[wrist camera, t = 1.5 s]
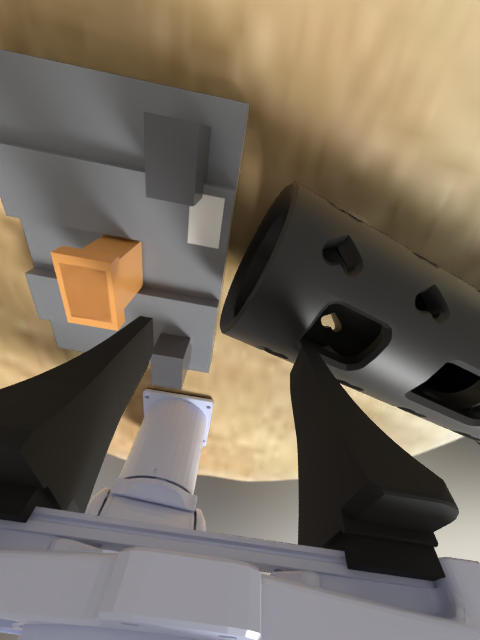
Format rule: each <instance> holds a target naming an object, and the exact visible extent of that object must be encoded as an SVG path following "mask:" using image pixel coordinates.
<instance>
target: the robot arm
mask: <svg viewBox="0 0 480 640" xmlns="http://www.w3.org/2000/svg"><path fill="white" fill-rule="evenodd" d="M153 351H154V338H153V318H150V317H144V316H139V317H138V318H136V319H135V320H133V321H132V322H130V323H129V324H128V325H126V326H125V327H123V328H122V329H121V330H119V331H118V332H116V333H115V334H113V335H112V336H110V337H109V338H107V339H106V340H104V341H103V342H101V343H100V344H98V345H97V346H95V347H93V348H92V349H90V350H88V351H87V352H85V353H83V354H81V355H80V356H78V357H76V358H74V359H72V360H70V361H68V362H66V363H64V364H62V365H60V366H58V367H56V368H53V369H51V370H49V371H46V372H44V373H42V374H40V375H37V376H35V377H32V378H30V379H27V380H25V381H22V382H19V383H17V384H14V385H11V386H8V387H5V388H3V389H0V632H3V633H10V634H17V635H19V637H18V639H17V640H480V563H479V562H477V561H471V560H464V559H457V558H451V557H442V558H438V557H437V554H436V552H435V549H434V547H437V546H438V542H437V540H436V537H435V535H434V531H436V530H438V529H440V528H442V527H444V526H446V525H447V524H449V523H451V522H452V521H454V520H455V519H456V517H457V516H458V514H459V511H458V507H457V505H456V503H455V502H454V499H453V498H452V496H451V494H450V492H449V490H448V488H447V486H446V484H445V482H444V481H443V480H442V479H441V478H439V477H438V476H437V475H436V474H434V473H433V472H432V471H430V470H429V469H428V468H426V467H425V466H424V465H422V464H421V463H420V462H418V461H417V460H416V459H414V458H413V457H412V456H411V455H410V454H408V453H407V452H406V451H405V450H404V449H402V448H401V447H400V446H399V445H398V444H396V443H395V442H394V441H393V440H392V439H391V438H390V437H388V436H387V435H386V434H385V433H384V432H383V431H382V430H381V429H380V428H379V427H378V426H377V425H376V424H375V423H374V422H373V421H372V420H371V419H370V418H369V417H368V416H367V415H366V414H365V413H364V412H363V411H362V410H361V409H360V408H359V406H358V405H357V404H356V403H355V402H354V401H353V400H352V398H351V397H350V396H349V395H348V393H347V392H346V391H345V390H344V388H343V387H342V386H341V385H340V383H339V382H338V381H337V379H336V378H335V376H334V375H333V374H332V372H331V371H330V369H329V368H328V366H327V365H326V363H325V362H324V361H323V359H322V358H321V356H320V355H319V353H318V352H317V350H316V349H315V347H311V346H306V345H302V346H301V349H300V351H299V354H298V356H297V358H296V361H295V363H294V366H293V368H292V370H291V373H290V394H291V401H292V408H293V415H294V422H295V429H296V436H297V448H298V477H299V527H298V545H296V544H290V543H283V542H276V541H269V540H263V539H256V538H249V537H242V536H235V535H228V534H222V533H214V532H207V531H206V523H205V519H204V516H203V514H202V511H201V510H200V509H197V508H195V507H196V501H197V496H195V495H193V494H194V488H195V483H196V478H197V472H198V467H199V461H200V456H201V451H202V447H205V446H206V443H207V437H208V432H209V426H210V421H211V415H212V410H213V404H214V401H213V400H211V399H206V398H200V397H194V396H187V395H181V394H175V393H169V392H163V391H157V390H151V389H145V390H144V391H143V407H144V419H143V422H142V424H141V426H140V429H139V431H138V434H137V436H136V438H135V441H134V443H133V446H132V448H131V450H130V453H129V455H128V458H127V460H126V462H125V465H124V467H123V470H122V472H121V474H120V477H119V478H116V480H115V483H114V485H113V487H112V490H110V489H109V488H103V489H102V490H101V491H100V492H98V493H97V494H95V495H94V496H93V498H92V499H91V501H90V503H89V505H88V502H89V499H90V496H91V493H92V491H93V488H94V485H95V482H96V479H97V477H98V474H99V471H100V469H101V466H102V463H103V460H104V458H105V455H106V453H107V450H108V448H109V445H110V443H111V440H112V438H113V435H114V433H115V430H116V428H117V425H118V423H119V421H120V418H121V416H122V414H123V412H124V410H125V408H126V406H127V404H128V402H129V400H130V399H131V397H132V395H133V393H134V391H135V389H136V388H137V386H138V384H139V382H140V380H141V378H142V376H143V375H144V373H145V371H146V369H147V367H148V364H149V362H150V359H151V356H152V354H153ZM110 491H111V492H110ZM87 505H88V506H87ZM260 571H261V572H268V573H271V574H270V575H265V574H262V573H260Z"/></svg>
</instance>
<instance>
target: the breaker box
mask: <svg viewBox="0 0 480 640" xmlns="http://www.w3.org/2000/svg"><path fill="white" fill-rule="evenodd" d="M249 110H250V106H249V104H248V103H244V102H239V101H235V100H230V99H225V98H221V97H216V96H212V95H207V94H203V93H198V92H193V91H189V90H184V89H180V88H175V87H171V86H166V85H161V84H157V83H152V82H148V81H143V80H139V79H134V78H129V77H125V76H120V75H116V74H111V73H107V72H102V71H97V70H93V69H88V68H84V67H79V66H75V65H70V64H65V63H61V62H56V61H52V60H47V59H43V58H38V57H33V56H29V55H24V54H20V53H15V52H11V51H6V50H1V49H0V198H1V201H2V204H3V207H4V210H5V213H6V216H11V217H16V218H20V220H21V223H22V226H23V230H24V233H25V237H26V240H27V243H28V247H29V250H30V254H31V257H32V260H33V264H34V267H35V268H33V269H31V270H30V271H28V272H26V273H25V276H26V279H27V282H28V285H29V288H30V291H31V294H32V297H33V300H34V304H35V307H36V310H37V313H38V316H39V319H45V320H50V322H51V325H52V329H53V332H54V335H55V339H56V342H57V346H58V348H63V349H69V350H75V351H81V352H87V351H88V350H90V349H92V348H93V347H95V346H97V345H98V344H100V343H101V342H103V341H104V340H106V339H107V338H109V337H110V336H112V335H113V334H115V333H116V332H118V331H119V330H121V329H122V328H123V327H125V326H126V325H128V324H129V323H130V322H132V321H133V320H135V319H136V318H138V317H139V316H144V317H150V318H153V338H154V351H153V354H152V356H151V359H150V362H149V363H151V385H155V386H162V387H168V388H174V389H180V390H181V389H182V385H183V382H184V379H185V376H186V373H187V370H194V371H200V372H206V373H209V369H210V364H211V359H212V353H213V347H214V340H215V334H216V327H217V320H218V314H219V307H220V301H221V294H222V288H223V281H224V274H225V268H226V261H227V255H228V248H229V242H230V235H231V229H232V222H233V215H234V209H235V202H236V196H237V189H238V183H239V176H240V169H241V163H242V156H243V150H244V143H245V137H246V130H247V124H248V117H249ZM105 234H106V235H111V236H117V237H122V238H127V239H132V240H138V241H141V245H142V269H143V286H142V287H141V289H140V290H139V291H138V292H137V294H136V295H135V296H134V297H133V298H132V300H131V301H130V302H129V303H128V305H127V306H126V307H125V308H124V314H125V322H124V324H123V325H122V326H121V328H120V329H119V330H118V331H116V330H110V329H104V328H98V327H93V326H87V325H81V324H75V323H69V322H68V321H67V317H66V313H65V309H64V305H63V301H62V297H61V293H60V289H59V285H58V281H57V276H56V272H55V268H54V264H53V260H52V256H51V252H52V251H53V250H55V249H57V248H59V247H61V246H68V247H73V248H78V249H82V248H83V247H85V246H87V245H88V244H90V243H92V242H93V241H95V240H97V239H98V238H100V237H102V236H103V235H105Z"/></svg>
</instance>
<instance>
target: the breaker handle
mask: <svg viewBox="0 0 480 640" xmlns="http://www.w3.org/2000/svg"><path fill="white" fill-rule="evenodd" d="M51 256H52V260H53V264H54V268H55V272H56V276H57V281H58V285H59V289H60V293H61V297H62V301H63V305H64V309H65V313H66V317H67V321H68V322H69V323H75V324H81V325H87V326H93V327H98V328H104V329H110V330H116V331H118V330H119V329H120V328H121V326H122V325H123V324H124V322H125V314H124V308H125V307H126V306H127V305H128V303H129V302H130V301H131V300H132V298H133V297H134V296H135V295H136V294H137V292H138V291H139V290H140V289H141V287H142V286H143V269H142V245H141V241H138V240H132V239H127V238H122V237H117V236H111V235H106V234H105V235H103V236H102V237H100V238H98V239H97V240H95V241H93V242H92V243H90V244H88V245H87V246H85V247H83V248H82V249H78V248H73V247H68V246H61V247H59V248H57V249H55V250H53V251H52V252H51Z"/></svg>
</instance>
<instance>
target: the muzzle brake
mask: <svg viewBox="0 0 480 640" xmlns="http://www.w3.org/2000/svg"><path fill="white" fill-rule="evenodd" d="M328 314H331V316H332V318H333V321H334V323H335V329H334V330H332V328H331V327H329V326H323V325H322V323H321V318H322V317H323V316H324V315H328ZM220 328H221V331H222V333H223V334H225V335H228V336H230V337H232V338H235V339H237V340H240V341H242V342H244V343H247V344H249V345H251V346H254V347H256V348H258V349H261V350H265V351H266V352H268V353H270V354H272V355H275V356H277V357H279V358H282V359H284V360H287V361H289V362H291V363H295V361H296V358H297V356H298V354H299V351H300V349H301V346H302V345H306V346H311V347H315V349H316V350H317V352H318V353H319V355H320V356H321V358H322V359H323V361H324V362H325V363H326V365H327V366H328V368H329V369H330V371H331V372H332V374H333V375H334V376H335V378H336V379H337V381H338V382H339V383H341V384H343V385H345V386H348V387H350V388H352V389H355V390H357V391H359V392H362V393H364V394H366V395H369V396H371V397H373V398H376V399H378V400H380V401H383V402H385V403H388V404H390V405H392V406H396V407H398V408H400V409H402V410H404V411H406V412H409V413H411V414H413V415H416V416H418V417H420V418H423V419H425V420H427V421H430V422H432V423H435V424H437V425H439V426H442V427H444V428H446V429H450V430H451V431H453V432H456V433H458V434H460V435H463V436H465V437H467V438H470V439H472V440H475V441H476V442H477V443H478V444H480V291H478V290H476V289H475V288H474V287H473V286H471V285H469V284H467V283H466V282H464V281H462V280H461V279H459V278H457V277H456V276H454V275H452V274H451V273H449V272H447V271H446V270H444V269H442V268H440V267H439V266H437V265H435V264H434V263H432V262H430V261H428V260H426V259H424V258H423V257H421V256H419V255H417V254H415V253H413V252H411V251H410V250H409V249H408V248H407V247H405V246H403V245H402V244H400V243H398V242H397V241H395V240H393V239H392V238H390V237H388V236H387V235H385V234H383V233H381V232H380V231H378V230H376V229H375V228H373V227H371V226H370V225H368V224H366V223H365V222H363V221H361V220H359V219H357V218H356V217H354V216H352V215H350V214H348V213H346V212H345V211H343V210H340V209H337V207H336V206H335V205H333V204H332V203H330V202H329V201H327V200H326V199H324V198H322V197H321V196H319V195H317V194H316V193H314V192H312V191H311V190H309V189H307V188H306V187H304V186H302V185H301V184H299V183H297V182H294V183H291V184H290V185H288V186H287V187H286V188H285V189H284V190H283V191H282V192H281V193H280V194H279V196H278V197H277V198H276V200H275V201H274V203H273V204H272V206H271V207H270V209H269V210H268V212H267V214H266V215H265V217H264V219H263V220H262V222H261V224H260V226H259V227H258V229H257V231H256V233H255V235H254V237H253V239H252V241H251V243H250V245H249V246H248V248H247V250H246V252H245V255H244V257H243V259H242V261H241V263H240V265H239V267H238V270H237V272H236V274H235V277H234V279H233V282H232V284H231V287H230V289H229V292H228V295H227V297H226V300H225V303H224V307H223V310H222V314H221V319H220Z"/></svg>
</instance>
